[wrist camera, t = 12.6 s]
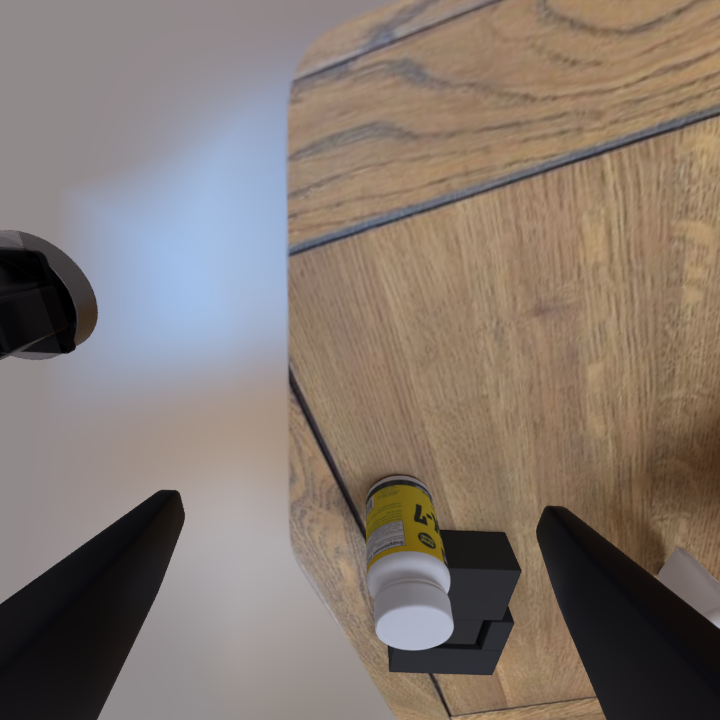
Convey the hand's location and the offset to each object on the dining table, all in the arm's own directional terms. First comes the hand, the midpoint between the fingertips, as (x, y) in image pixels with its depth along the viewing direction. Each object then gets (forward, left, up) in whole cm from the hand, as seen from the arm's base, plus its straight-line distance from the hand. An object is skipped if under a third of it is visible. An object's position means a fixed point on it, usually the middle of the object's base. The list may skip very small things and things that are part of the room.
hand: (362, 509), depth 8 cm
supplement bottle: (+3, -12, -12) cm, 18 cm away
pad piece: (+8, -20, -12) cm, 25 cm away
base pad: (+8, -27, -12) cm, 31 cm away
